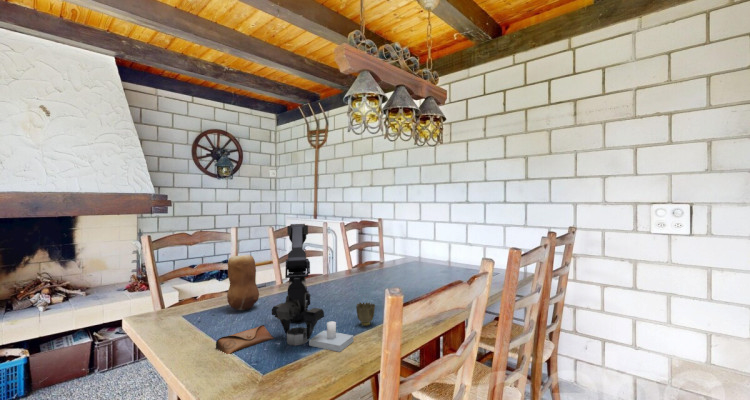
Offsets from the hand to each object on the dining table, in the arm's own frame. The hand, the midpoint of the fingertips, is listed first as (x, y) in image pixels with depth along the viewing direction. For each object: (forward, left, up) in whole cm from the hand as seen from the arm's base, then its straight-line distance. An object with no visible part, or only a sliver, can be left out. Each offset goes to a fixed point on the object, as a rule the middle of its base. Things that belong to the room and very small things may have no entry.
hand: (297, 336), depth 116 cm
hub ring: (0, 0, -2) cm, 2 cm away
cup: (+15, +23, -2) cm, 28 cm away
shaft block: (+12, +3, -2) cm, 12 cm away
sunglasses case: (-15, -8, -2) cm, 17 cm away
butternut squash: (-45, +18, -2) cm, 48 cm away
